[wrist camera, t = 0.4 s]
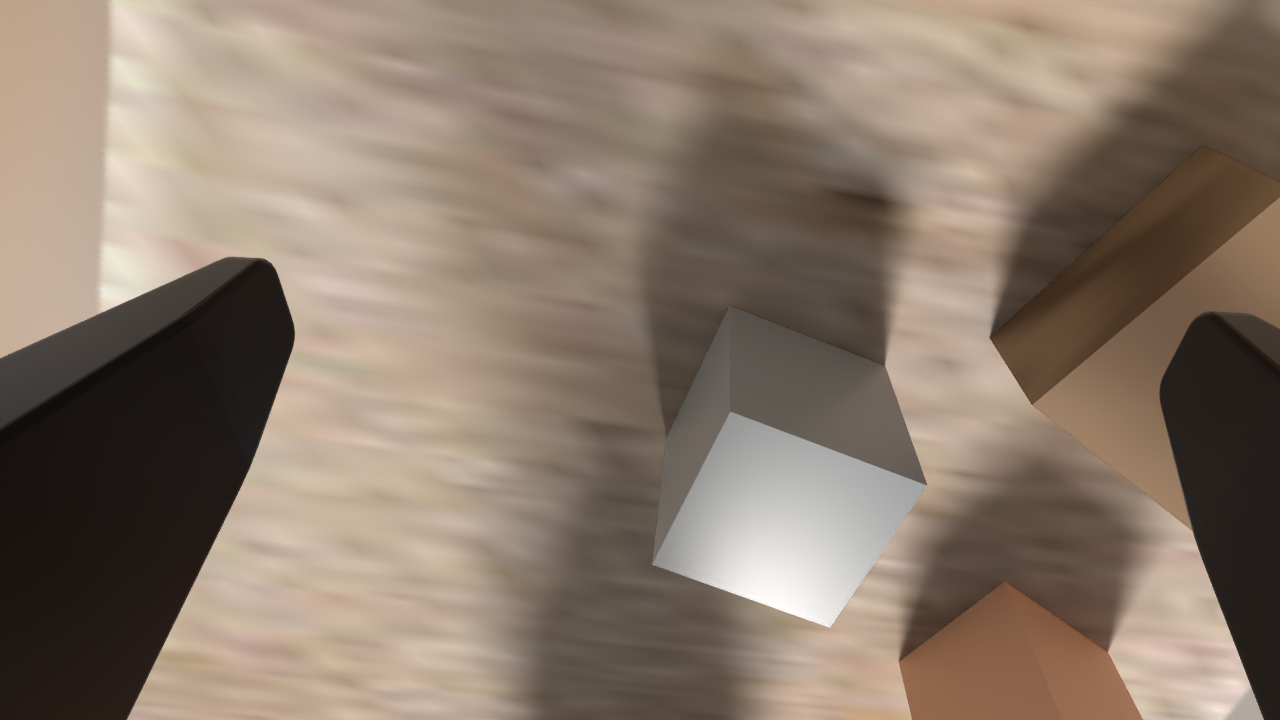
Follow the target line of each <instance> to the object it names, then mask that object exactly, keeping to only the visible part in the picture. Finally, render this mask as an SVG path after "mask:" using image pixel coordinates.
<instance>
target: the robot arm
mask: <svg viewBox="0 0 1280 720" xmlns="http://www.w3.org/2000/svg"><path fill="white" fill-rule="evenodd" d="M294 339H295V330H294V324H293V320H292V317H291V314H290V311H289V307H288V304H287V301H286V298H285V295H284V292H283V289H282V286H281V283H280V280H279V277H278V274H277V272H276V269H275V268H274V266H273V265H272V264H271V263H270V262H269V261H267V260H265V259H262V258H246V257H226V258H223V259H221V260H219V261H216V262H214V263H212V264H210V265H207V266H205V267H203V268H201V269H198V270H196V271H194V272H192V273H190V274H187V275H185V276H183V277H181V278H178V279H176V280H174V281H172V282H169V283H167V284H165V285H163V286H161V287H158V288H156V289H154V290H152V291H149V292H147V293H145V294H143V295H140V296H138V297H136V298H134V299H131V300H129V301H127V302H125V303H123V304H120V305H118V306H116V307H114V308H111V309H109V310H107V311H105V312H102V313H100V314H98V315H96V316H94V317H91V318H89V319H87V320H85V321H82V322H80V323H78V324H76V325H73V326H71V327H69V328H67V329H65V330H62V331H60V332H58V333H56V334H53V335H51V336H49V337H47V338H44V339H42V340H40V341H38V342H36V343H33V344H31V345H29V346H27V347H25V348H22V349H20V350H18V351H15V352H13V353H11V354H9V355H7V356H4V357H2V358H0V720H127V718H128V716H129V714H130V712H131V710H132V708H133V706H134V704H135V702H136V700H137V698H138V696H139V694H140V692H141V690H142V688H143V686H144V684H145V682H146V680H147V678H148V676H149V674H150V672H151V669H152V667H153V665H154V663H155V661H156V659H157V657H158V655H159V653H160V651H161V649H162V647H163V645H164V643H165V641H166V639H167V637H168V635H169V633H170V631H171V629H172V627H173V625H174V623H175V621H176V619H177V617H178V614H179V612H180V610H181V608H182V606H183V604H184V602H185V600H186V598H187V596H188V594H189V592H190V590H191V588H192V586H193V584H194V582H195V580H196V578H197V576H198V574H199V572H200V570H201V568H202V566H203V564H204V561H205V559H206V557H207V555H208V553H209V551H210V549H211V547H212V545H213V543H214V541H215V539H216V537H217V535H218V533H219V531H220V529H221V527H222V525H223V523H224V521H225V519H226V517H227V515H228V513H229V511H230V509H231V506H232V504H233V502H234V500H235V498H236V496H237V494H238V492H239V490H240V488H241V486H242V484H243V482H244V479H245V477H246V475H247V473H248V471H249V468H250V466H251V464H252V461H253V458H254V456H255V453H256V451H257V448H258V446H259V443H260V440H261V437H262V434H263V431H264V428H265V426H266V423H267V420H268V417H269V414H270V411H271V409H272V406H273V403H274V400H275V397H276V394H277V392H278V389H279V386H280V383H281V380H282V377H283V375H284V372H285V369H286V366H287V363H288V360H289V357H290V355H291V352H292V349H293V345H294ZM1159 397H1160V405H1161V409H1162V413H1163V417H1164V421H1165V425H1166V429H1167V433H1168V437H1169V441H1170V445H1171V449H1172V453H1173V457H1174V461H1175V465H1176V469H1177V473H1178V477H1179V481H1180V485H1181V489H1182V493H1183V497H1184V501H1185V505H1186V509H1187V513H1188V517H1189V520H1190V523H1191V527H1192V530H1193V534H1194V537H1195V540H1196V543H1197V546H1198V549H1199V551H1200V554H1201V557H1202V560H1203V563H1204V565H1205V568H1206V571H1207V573H1208V576H1209V578H1210V581H1211V584H1212V586H1213V589H1214V591H1215V594H1216V597H1217V599H1218V602H1219V604H1220V607H1221V610H1222V612H1223V615H1224V617H1225V620H1226V623H1227V625H1228V628H1229V630H1230V633H1231V635H1232V638H1233V641H1234V643H1235V646H1236V648H1237V651H1238V654H1239V656H1240V659H1241V661H1242V664H1243V667H1244V669H1245V672H1246V674H1247V677H1248V680H1249V682H1250V685H1251V687H1252V690H1253V693H1254V695H1255V698H1256V700H1257V703H1258V705H1259V708H1260V711H1261V713H1262V716H1263V718H1264V720H1280V328H1278V327H1276V326H1274V325H1272V324H1270V323H1268V322H1266V321H1265V320H1263V319H1261V318H1259V317H1257V316H1255V315H1252V314H1248V313H1237V312H1218V311H1207V312H1204V313H1202V314H1200V315H1198V316H1197V317H1196V318H1195V319H1194V320H1193V321H1192V322H1191V324H1190V325H1189V327H1188V329H1187V331H1186V333H1185V335H1184V336H1183V338H1182V340H1181V342H1180V344H1179V346H1178V348H1177V350H1176V352H1175V354H1174V356H1173V358H1172V359H1171V361H1170V363H1169V365H1168V367H1167V369H1166V371H1165V373H1164V375H1163V377H1162V380H1161V384H1160V391H1159Z"/></svg>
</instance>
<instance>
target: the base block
mask: <svg viewBox="0 0 1280 720" xmlns="http://www.w3.org/2000/svg"><path fill="white" fill-rule="evenodd" d="M1207 311H1218V312H1237V313H1248V314H1252V315H1255V316H1257V317H1259V318H1261V319H1263V320H1265V321H1266V322H1268V323H1270V324H1272V325H1274V326H1276V327H1278V328H1280V182H1279V181H1277V180H1275V179H1273V178H1270V177H1268V176H1266V175H1264V174H1262V173H1260V172H1258V171H1256V170H1254V169H1252V168H1250V167H1247V166H1245V165H1243V164H1241V163H1239V162H1237V161H1235V160H1233V159H1231V158H1229V157H1227V156H1225V155H1222V154H1220V153H1218V152H1216V151H1214V150H1212V149H1210V148H1208V147H1206V146H1204V145H1202V146H1201V147H1200V148H1199V149H1198V150H1197V151H1196V152H1195V153H1193V154H1192V155H1191V156H1190V157H1189V158H1188V159H1187V160H1186V161H1185V162H1183V163H1182V164H1181V165H1180V166H1179V167H1178V168H1177V169H1176V170H1175V171H1174V172H1172V173H1171V174H1170V175H1169V176H1168V177H1167V178H1166V179H1165V180H1164V181H1162V182H1161V183H1160V184H1159V185H1158V186H1157V187H1156V188H1155V189H1154V190H1153V191H1151V192H1150V193H1149V194H1148V195H1147V196H1146V197H1145V198H1144V199H1143V200H1141V201H1140V202H1139V203H1138V204H1137V205H1136V206H1135V207H1134V208H1133V209H1132V210H1130V211H1129V212H1128V213H1127V214H1126V215H1125V216H1124V217H1123V218H1122V219H1120V220H1119V221H1118V222H1117V223H1116V224H1115V225H1114V226H1113V227H1112V228H1111V229H1109V230H1108V231H1107V232H1106V233H1105V234H1104V235H1103V236H1102V237H1101V238H1099V239H1098V240H1097V241H1096V242H1095V243H1094V244H1093V245H1092V246H1091V247H1090V248H1088V249H1087V250H1086V251H1085V252H1084V253H1083V254H1082V255H1081V256H1080V257H1078V258H1077V259H1076V260H1075V261H1074V262H1073V263H1072V264H1071V265H1070V266H1069V267H1067V268H1066V269H1065V270H1064V271H1063V272H1062V273H1061V274H1060V275H1059V276H1057V277H1056V278H1055V279H1054V280H1053V281H1052V282H1051V283H1050V284H1049V285H1048V286H1046V287H1045V288H1044V289H1043V290H1042V291H1041V292H1040V293H1039V294H1038V295H1036V296H1035V297H1034V298H1033V299H1032V300H1031V301H1030V302H1029V303H1028V304H1027V305H1025V306H1024V307H1023V308H1022V309H1021V310H1020V311H1019V312H1018V313H1017V314H1015V315H1014V316H1013V317H1012V318H1011V319H1010V320H1009V321H1008V322H1007V323H1006V324H1004V325H1003V326H1002V327H1001V328H1000V329H999V330H998V331H997V332H996V333H994V334H993V335H992V336H991V337H990V339H991V341H992V342H993V344H994V346H995V347H996V349H997V350H998V352H999V353H1000V355H1001V357H1002V358H1003V360H1004V361H1005V363H1006V365H1007V366H1008V368H1009V369H1010V371H1011V372H1012V374H1013V376H1014V377H1015V379H1016V380H1017V382H1018V384H1019V385H1020V387H1021V388H1022V390H1023V392H1024V393H1025V395H1026V396H1027V398H1028V399H1029V401H1030V403H1031V404H1032V405H1033V406H1034V407H1035V408H1036V409H1038V410H1039V411H1040V412H1042V413H1043V414H1044V415H1045V416H1047V417H1048V418H1049V419H1050V420H1052V421H1053V422H1054V423H1056V424H1057V425H1058V426H1059V427H1061V428H1062V429H1063V430H1064V431H1066V432H1067V433H1068V434H1070V435H1071V436H1072V437H1073V438H1075V439H1076V440H1077V441H1079V442H1080V443H1081V444H1082V445H1084V446H1085V447H1086V448H1087V449H1089V450H1090V451H1091V452H1093V453H1094V454H1095V455H1096V456H1098V457H1099V458H1100V459H1101V460H1103V461H1104V462H1105V463H1107V464H1108V465H1109V466H1110V467H1112V468H1113V469H1114V470H1115V471H1117V472H1118V473H1119V474H1121V475H1122V476H1123V477H1124V478H1126V479H1127V480H1128V481H1130V482H1131V483H1132V484H1133V485H1135V486H1136V487H1137V488H1138V489H1140V490H1141V491H1142V492H1144V493H1145V494H1146V495H1147V496H1149V497H1150V498H1151V499H1152V500H1154V501H1155V502H1156V503H1158V504H1159V505H1160V506H1161V507H1163V508H1164V509H1165V510H1167V511H1168V512H1169V513H1170V514H1172V515H1173V516H1174V517H1175V518H1177V519H1178V520H1179V521H1181V522H1182V523H1183V524H1184V525H1186V526H1187V527H1188V528H1189V529H1191V530H1192V527H1191V523H1190V520H1189V517H1188V513H1187V509H1186V505H1185V501H1184V497H1183V493H1182V489H1181V485H1180V481H1179V477H1178V473H1177V469H1176V465H1175V461H1174V457H1173V453H1172V449H1171V445H1170V441H1169V437H1168V433H1167V429H1166V425H1165V421H1164V417H1163V413H1162V409H1161V405H1160V397H1159V391H1160V384H1161V380H1162V377H1163V375H1164V373H1165V371H1166V369H1167V367H1168V365H1169V363H1170V361H1171V359H1172V358H1173V356H1174V354H1175V352H1176V350H1177V348H1178V346H1179V344H1180V342H1181V340H1182V338H1183V336H1184V335H1185V333H1186V331H1187V329H1188V327H1189V325H1190V324H1191V322H1192V321H1193V320H1194V319H1195V318H1196V317H1197V316H1198V315H1200V314H1202V313H1204V312H1207ZM1192 531H1193V530H1192Z"/></svg>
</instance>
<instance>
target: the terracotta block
mask: <svg viewBox="0 0 1280 720" xmlns="http://www.w3.org/2000/svg"><path fill="white" fill-rule="evenodd" d="M899 665H900V669H901V673H902V678H903V682H904V686H905V691H906V695H907V699H908V703H909V708H910V712H911V716H912V720H1143V719H1142V717H1141V715H1140V713H1139V711H1138V709H1137V708H1136V706H1135V704H1134V702H1133V700H1132V698H1131V696H1130V694H1129V692H1128V690H1127V688H1126V686H1125V684H1124V682H1123V680H1122V679H1121V677H1120V675H1119V673H1118V671H1117V669H1116V667H1115V665H1114V663H1113V661H1112V659H1111V657H1110V655H1109V653H1108V652H1107V651H1105V650H1104V649H1102V648H1101V647H1100V646H1098V645H1097V644H1095V643H1094V642H1092V641H1091V640H1089V639H1088V638H1086V637H1085V636H1084V635H1082V634H1081V633H1079V632H1078V631H1076V630H1075V629H1073V628H1072V627H1070V626H1069V625H1068V624H1066V623H1065V622H1063V621H1062V620H1060V619H1059V618H1057V617H1056V616H1054V615H1053V614H1052V613H1050V612H1049V611H1047V610H1046V609H1044V608H1043V607H1041V606H1040V605H1038V604H1037V603H1036V602H1034V601H1033V600H1031V599H1030V598H1028V597H1027V596H1025V595H1024V594H1022V593H1021V592H1020V591H1018V590H1017V589H1015V588H1014V587H1012V586H1011V585H1009V584H1008V583H1006V582H1005V581H1004V582H1003V583H1002V584H1001V585H999V586H998V587H997V588H995V589H994V590H993V591H991V592H990V593H989V594H987V595H986V596H985V597H983V598H982V599H981V600H979V601H978V602H977V603H976V604H974V605H973V606H972V607H970V608H969V609H968V610H966V611H965V612H964V613H962V614H961V615H960V616H958V617H957V618H956V619H954V620H953V621H952V622H951V623H949V624H948V625H947V626H945V627H944V628H943V629H941V630H940V631H939V632H937V633H936V634H935V635H933V636H932V637H931V638H929V639H928V640H927V641H926V642H924V643H923V644H922V645H920V646H919V647H918V648H916V649H915V650H914V651H912V652H911V653H910V654H908V655H907V656H906V657H904V658H903V659H902V660H901V661H899Z"/></svg>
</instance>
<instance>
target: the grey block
mask: <svg viewBox="0 0 1280 720" xmlns="http://www.w3.org/2000/svg"><path fill="white" fill-rule="evenodd" d="M926 487H927V483H926V480H925V478H924V475H923V472H922V469H921V466H920V463H919V461H918V458H917V455H916V452H915V449H914V446H913V444H912V441H911V438H910V435H909V432H908V429H907V427H906V424H905V421H904V418H903V415H902V413H901V410H900V407H899V404H898V401H897V398H896V396H895V393H894V390H893V387H892V384H891V381H890V379H889V376H888V373H887V370H886V367H885V366H884V365H882V364H879V363H876V362H874V361H871V360H869V359H866V358H864V357H861V356H858V355H856V354H853V353H851V352H848V351H845V350H843V349H840V348H838V347H835V346H833V345H830V344H827V343H825V342H822V341H820V340H817V339H814V338H812V337H809V336H807V335H804V334H802V333H799V332H796V331H794V330H791V329H789V328H786V327H783V326H781V325H778V324H776V323H773V322H770V321H768V320H765V319H763V318H760V317H758V316H755V315H752V314H750V313H747V312H745V311H742V310H739V309H737V308H734V307H732V306H729V308H728V310H727V312H726V314H725V316H724V318H723V320H722V322H721V324H720V326H719V329H718V331H717V333H716V335H715V337H714V339H713V341H712V343H711V345H710V347H709V350H708V352H707V354H706V356H705V358H704V360H703V362H702V364H701V366H700V368H699V371H698V373H697V375H696V377H695V379H694V381H693V383H692V385H691V387H690V389H689V392H688V394H687V396H686V398H685V400H684V402H683V404H682V406H681V408H680V410H679V413H678V415H677V417H676V419H675V421H674V423H673V425H672V427H671V429H670V431H669V434H668V436H667V438H666V446H665V455H664V464H663V473H662V481H661V490H660V499H659V507H658V516H657V525H656V534H655V542H654V551H653V560H652V565H655V566H657V567H660V568H663V569H666V570H669V571H671V572H674V573H677V574H680V575H683V576H686V577H688V578H691V579H694V580H697V581H700V582H703V583H705V584H708V585H711V586H714V587H717V588H719V589H722V590H725V591H728V592H731V593H734V594H736V595H739V596H742V597H745V598H748V599H750V600H753V601H756V602H759V603H762V604H765V605H767V606H770V607H773V608H776V609H779V610H782V611H784V612H787V613H790V614H793V615H796V616H798V617H801V618H804V619H807V620H810V621H813V622H815V623H818V624H821V625H824V626H827V627H829V628H830V627H831V625H832V624H833V622H834V621H835V619H836V618H837V616H838V615H839V613H840V612H841V611H842V609H843V608H844V606H845V605H846V603H847V602H848V600H849V599H850V597H851V596H852V595H853V593H854V592H855V590H856V589H857V587H858V586H859V584H860V583H861V581H862V580H863V579H864V577H865V576H866V574H867V573H868V571H869V570H870V568H871V567H872V565H873V564H874V562H875V561H876V560H877V558H878V557H879V555H880V554H881V552H882V551H883V549H884V548H885V546H886V545H887V544H888V542H889V541H890V539H891V538H892V536H893V535H894V533H895V532H896V530H897V529H898V528H899V526H900V525H901V523H902V522H903V520H904V519H905V517H906V516H907V514H908V513H909V512H910V510H911V509H912V507H913V506H914V504H915V503H916V501H917V500H918V498H919V497H920V496H921V494H922V493H923V491H924V490H925V488H926Z"/></svg>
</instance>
